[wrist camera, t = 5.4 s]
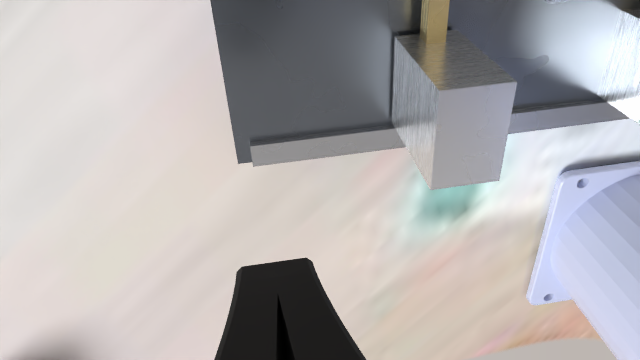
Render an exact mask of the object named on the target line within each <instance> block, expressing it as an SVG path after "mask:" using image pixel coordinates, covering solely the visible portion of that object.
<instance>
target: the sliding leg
mask: <svg viewBox="0 0 640 360" xmlns="http://www.w3.org/2000/svg"><path fill="white" fill-rule="evenodd" d="M449 1H450V0H422V9H421V25H420V34H413V35H403V36H395V42H394V71H393V101H392V124H393V125H394V127H395V129H396V131H397V132H398V134H399V136H400V138H401V139H402V141H403V143H404V145H405V146H406V148H407V150H408V151H409V153H410V155H411V157H412V158H413V160H414V162H415V164H416V165H417V167H418V169H419V171H420V172H421V174H422V176H423V178H424V179H425V181H426V183H427V185H428V186H429V188H430V190H434V189H441V188H449V187H456V186H463V185H470V184H478V183H485V182H492V181H499V179H500V173H501V168H502V162H503V157H504V151H505V146H506V140H507V135H508V129H509V124H510V119H511V113H512V108H513V102H514V97H515V91H516V86H517V81H516V80H515V79H513V78H512V77H511V76H510V75H509V74H508V73H507V72H505V71H504V70H503V69H502V68H501V67H500V66H498V65H497V64H496V63H495V62H494V61H493V60H491V59H490V58H489V57H488V56H487V55H486V54H485V53H483V52H482V51H481V50H480V49H479V48H478V47H476V46H475V45H474V44H473V43H472V42H471V41H469V40H468V39H467V38H466V37H465V36H464V35H463V34H461V33H460V32H459V31H458V30H450V31H447V23H448V12H449Z"/></svg>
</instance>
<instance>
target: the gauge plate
mask: <svg viewBox="0 0 640 360" xmlns="http://www.w3.org/2000/svg"><path fill="white" fill-rule="evenodd" d="M210 1H211V7H212V13H213V18H214V24H215V30H216V36H217V42H218V48H219V54H220V60H221V65H222V71H223V77H224V83H225V89H226V95H227V101H228V107H229V112H230V118H231V124H232V130H233V136H234V142H235V148H236V154H237V159H238V164H240V163H248V162H253V167H254V166H262V165H269V164H277V163H285V162H293V161H301V160H308V159H316V158H324V157H332V156H340V155H348V154H355V153H363V152H371V151H379V150H387V149H394V148H402V147H406V146H405V145H404V143H403V141H402V139H401V138H400V136H399V134H398V132H397V131H396V129H395V127H394V125H393V124H392V101H393V71H394V42H395V36H403V35H413V34H420V25H421V9H422V0H210ZM450 30H458V31H459V32H460V33H461V34H463V35H464V36H465V37H466V38H467V39H468V40H469V41H471V42H472V43H473V44H474V45H475V46H476V47H478V48H479V49H480V50H481V51H482V52H483V53H485V54H486V55H487V56H488V57H489V58H490V59H491V60H493V61H494V62H495V63H496V64H497V65H498V66H500V67H501V68H502V69H503V70H504V71H505V72H507V73H508V74H509V75H510V76H511V77H512V78H513V79H515V80H516V81H517V86H516V91H515V97H514V102H513V108H512V113H511V119H510V124H509V129H508V134H512V133H520V132H527V131H535V130H543V129H551V128H559V127H566V126H574V125H582V124H590V123H598V122H605V121H613V120H621V119H629V118H631V119H632V120H634V121H635V122H636V123H638V124H639V125H640V0H450V1H449V12H448V23H447V31H450Z"/></svg>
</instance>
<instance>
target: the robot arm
mask: <svg viewBox="0 0 640 360" xmlns="http://www.w3.org/2000/svg"><path fill="white" fill-rule="evenodd" d="M581 179H582V180H581ZM580 180H581V181H580ZM578 181H580V182H578ZM526 298H527V299H528V301H529V302H530V304H532V305H540V304H546V303H553V302H559V301H565V300H571V299H573V301H574V302H575V303H576V305H577V306H578V307H579V309H580V310H581V311H582V313H583V314H584V315H585V317H586V318H587V319H588V321H589V322H590V323H591V325H592V326H593V327H594V329H595V330H596V332H597V333H598V334H599V336H600V337H601V338H602V340H603V341H604V342H605V344H606V345H607V346H608V348H609V349H610V350H611V352H612V353H613V354H614V356H615V357H616V358H617V360H640V161H635V162H628V163H620V164H613V165H606V166H598V167H591V168H584V169H577V170H570V171H566V172H564V173H562V174H561V175H560V176H559V177H558V179H557V181H556V184H555V188H554V192H553V196H552V199H551V203H550V207H549V211H548V215H547V218H546V222H545V226H544V230H543V234H542V237H541V241H540V245H539V249H538V253H537V257H536V260H535V264H534V268H533V272H532V276H531V279H530V283H529V287H528V291H527V295H526ZM215 360H366V359H365V357H364V356H363V354H362V353H361V351H360V350H359V348H358V347H357V345H356V343H355V342H354V340H353V339H352V337H351V336H350V334H349V332H348V331H347V329H346V328H345V326H344V325H343V323H342V321H341V320H340V318H339V316H338V315H337V313H336V311H335V309H334V307H333V306H332V304H331V302H330V300H329V298H328V297H327V295H326V293H325V291H324V289H323V287H322V285H321V282H320V280H319V278H318V276H317V273H316V271H315V268H314V266H313V262H312V261H311V260H309V259H307V258H300V259H293V260H286V261H279V262H272V263H265V264H258V265H251V266H244V267H241V268H240V269H239V270H238V271H237V274H236V283H235V288H234V294H233V298H232V303H231V307H230V311H229V314H228V318H227V322H226V325H225V329H224V332H223V335H222V338H221V341H220V344H219V347H218V350H217V354H216V357H215Z"/></svg>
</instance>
